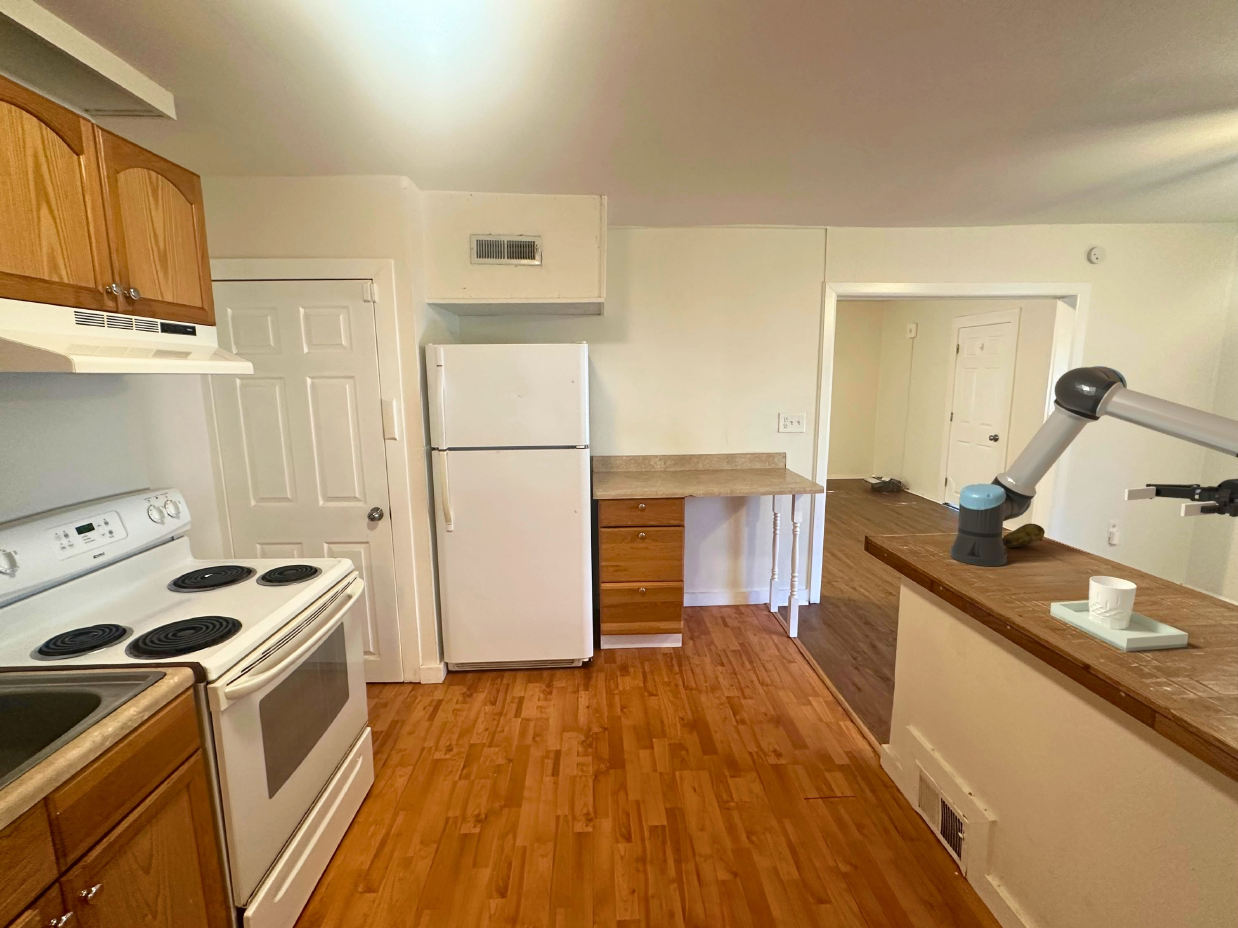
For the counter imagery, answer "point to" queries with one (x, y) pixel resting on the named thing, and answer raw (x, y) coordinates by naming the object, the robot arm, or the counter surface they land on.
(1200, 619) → the counter surface
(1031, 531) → the avocado
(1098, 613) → the white cup
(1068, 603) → the tray
